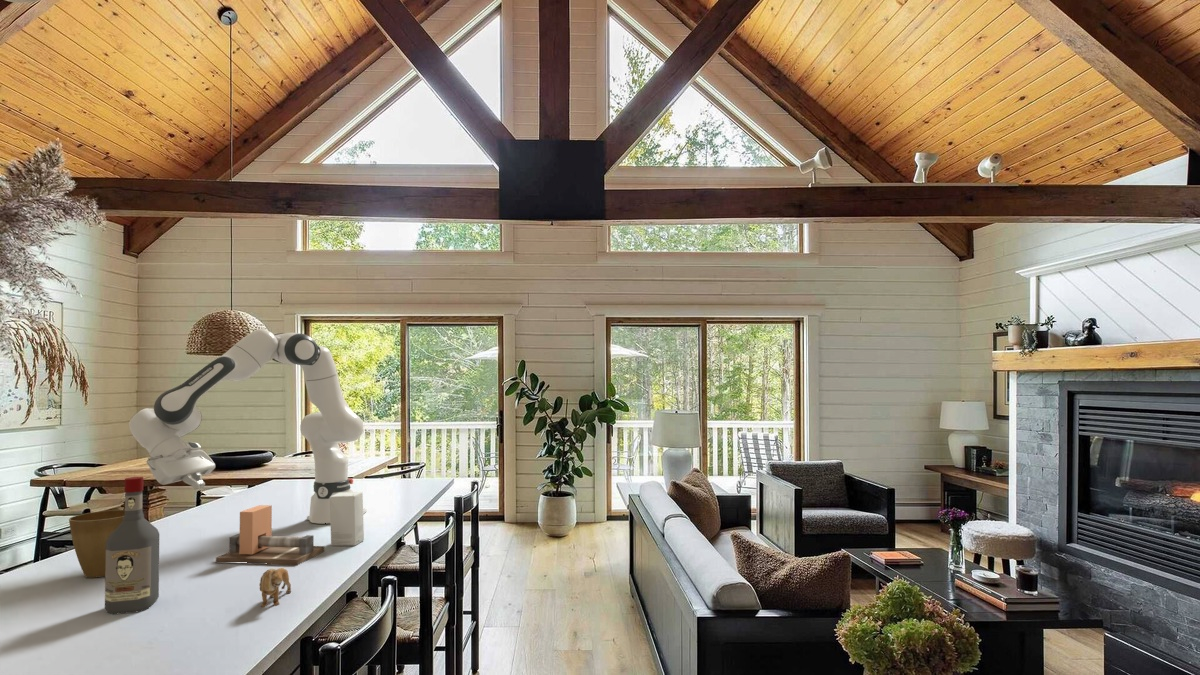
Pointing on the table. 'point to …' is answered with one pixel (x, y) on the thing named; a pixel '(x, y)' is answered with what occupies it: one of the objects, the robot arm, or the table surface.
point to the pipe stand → (274, 550)
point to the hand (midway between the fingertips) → (200, 486)
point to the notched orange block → (254, 528)
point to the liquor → (132, 557)
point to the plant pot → (93, 539)
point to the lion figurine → (273, 584)
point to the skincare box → (346, 519)
